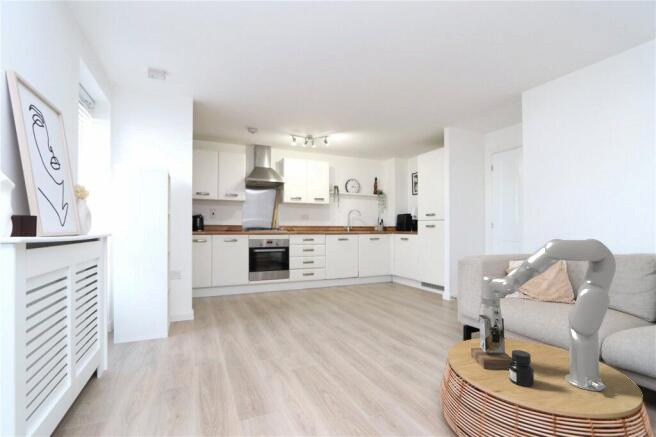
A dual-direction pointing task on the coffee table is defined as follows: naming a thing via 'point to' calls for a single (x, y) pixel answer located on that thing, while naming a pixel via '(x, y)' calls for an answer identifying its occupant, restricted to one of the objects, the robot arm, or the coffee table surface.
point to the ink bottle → (521, 369)
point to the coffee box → (490, 336)
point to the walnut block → (491, 359)
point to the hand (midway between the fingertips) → (492, 339)
